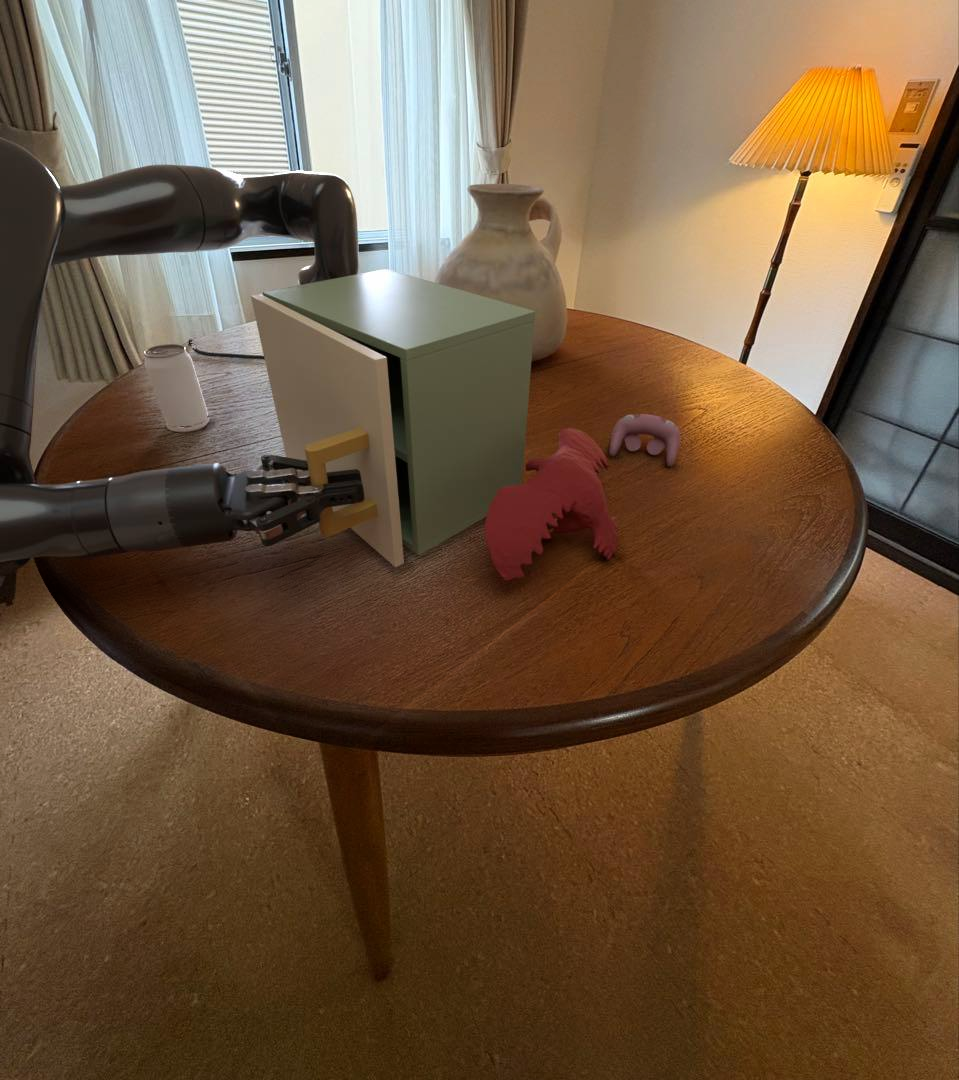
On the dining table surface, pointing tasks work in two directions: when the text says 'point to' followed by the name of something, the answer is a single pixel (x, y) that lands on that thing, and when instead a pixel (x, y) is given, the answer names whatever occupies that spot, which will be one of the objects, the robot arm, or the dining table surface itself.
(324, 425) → the door
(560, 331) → the jug
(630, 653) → the dining table surface
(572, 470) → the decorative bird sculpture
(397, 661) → the dining table surface
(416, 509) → the cupboard
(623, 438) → the video game controller
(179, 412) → the can
